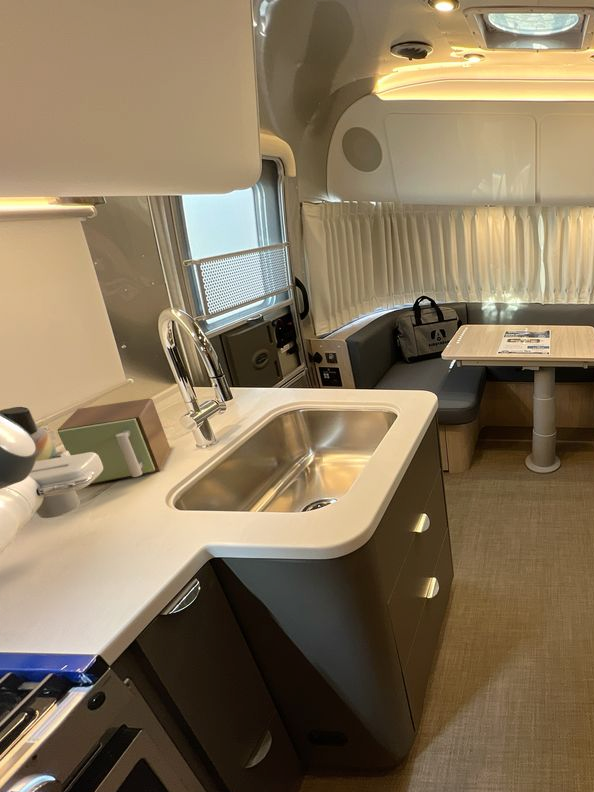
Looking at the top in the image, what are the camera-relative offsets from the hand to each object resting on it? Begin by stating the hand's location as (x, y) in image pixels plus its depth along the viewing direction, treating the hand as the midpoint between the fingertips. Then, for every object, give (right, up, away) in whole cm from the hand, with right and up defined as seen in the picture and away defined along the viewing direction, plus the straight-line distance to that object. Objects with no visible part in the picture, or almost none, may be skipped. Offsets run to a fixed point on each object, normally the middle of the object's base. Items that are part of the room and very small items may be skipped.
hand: (38, 459), depth 84 cm
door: (-6, -7, +22) cm, 24 cm away
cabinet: (-10, -5, +30) cm, 32 cm away
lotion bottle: (0, -10, +3) cm, 10 cm away
